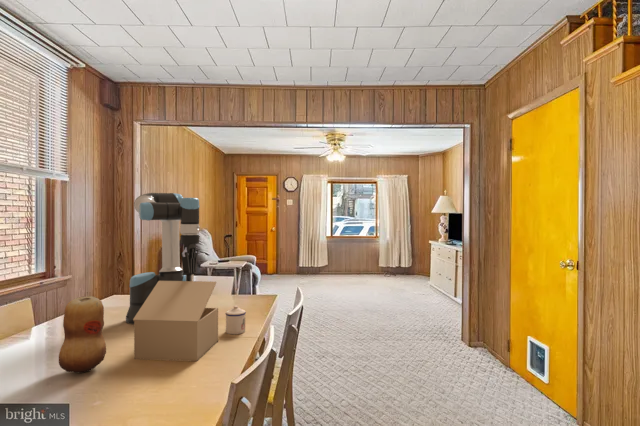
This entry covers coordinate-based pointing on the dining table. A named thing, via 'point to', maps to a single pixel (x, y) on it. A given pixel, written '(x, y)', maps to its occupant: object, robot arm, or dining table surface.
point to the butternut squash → (83, 335)
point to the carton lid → (176, 301)
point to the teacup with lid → (235, 320)
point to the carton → (176, 338)
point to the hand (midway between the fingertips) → (189, 290)
